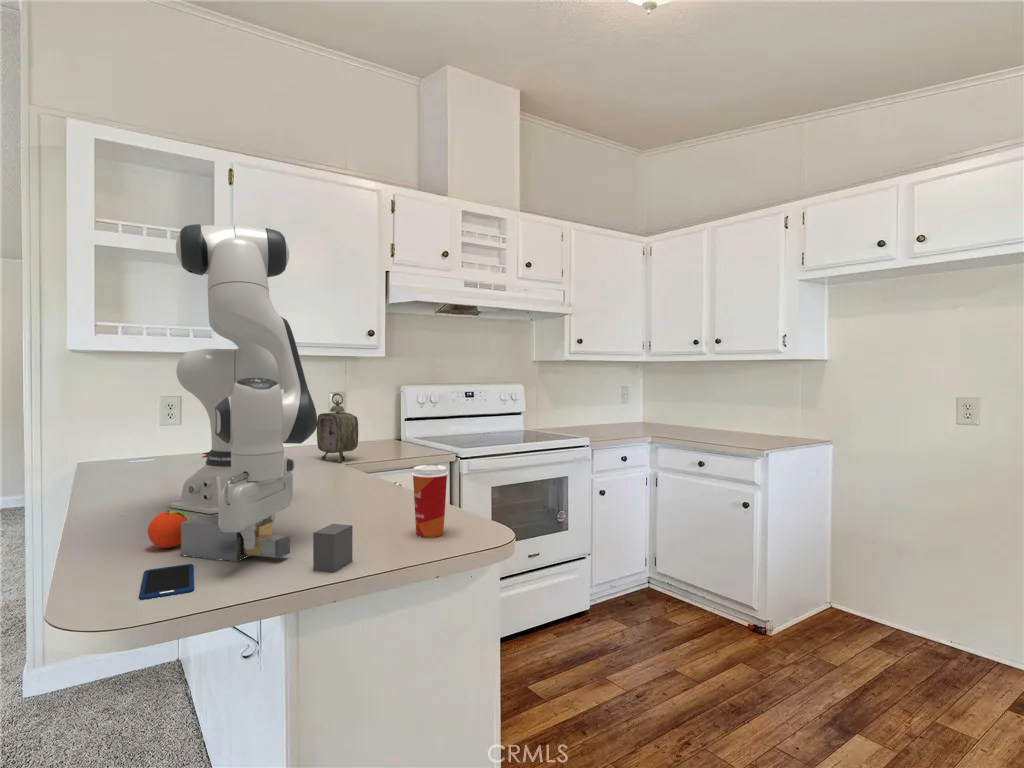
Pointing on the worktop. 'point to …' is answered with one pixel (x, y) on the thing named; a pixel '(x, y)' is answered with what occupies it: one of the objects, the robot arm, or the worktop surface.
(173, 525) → the clementine
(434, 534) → the paper cup
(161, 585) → the cell phone
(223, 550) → the sleeve
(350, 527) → the socket
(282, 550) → the gold-banded square post
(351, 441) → the tabletop clock
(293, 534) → the worktop surface
